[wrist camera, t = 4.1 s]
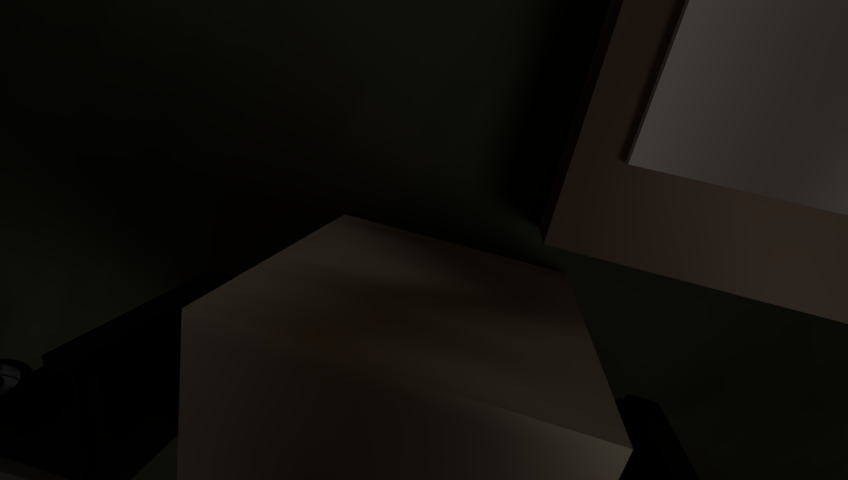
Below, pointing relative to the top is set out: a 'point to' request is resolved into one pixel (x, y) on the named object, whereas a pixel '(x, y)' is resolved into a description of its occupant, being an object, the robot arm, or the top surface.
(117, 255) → the top surface
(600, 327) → the top surface
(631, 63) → the base
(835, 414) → the top surface
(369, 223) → the maple block
